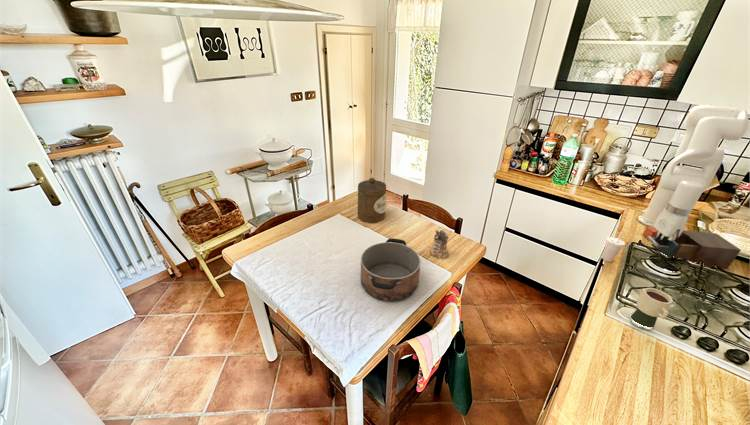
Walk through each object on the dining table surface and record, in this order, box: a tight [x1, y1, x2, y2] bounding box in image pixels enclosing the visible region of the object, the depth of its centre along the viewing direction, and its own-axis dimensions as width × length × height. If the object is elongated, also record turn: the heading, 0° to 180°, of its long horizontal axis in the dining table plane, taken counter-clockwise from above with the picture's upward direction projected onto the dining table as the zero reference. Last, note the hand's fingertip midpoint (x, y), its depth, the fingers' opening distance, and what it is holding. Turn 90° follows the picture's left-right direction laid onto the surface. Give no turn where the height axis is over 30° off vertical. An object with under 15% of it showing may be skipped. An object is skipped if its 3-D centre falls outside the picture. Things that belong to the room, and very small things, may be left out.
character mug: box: [630, 287, 673, 328], centre depth 99 cm, size 11×7×13 cm, turn 175°
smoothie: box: [601, 231, 626, 263], centre depth 130 cm, size 6×6×14 cm
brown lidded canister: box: [357, 177, 387, 224], centre depth 159 cm, size 15×15×22 cm
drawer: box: [646, 234, 700, 261], centre depth 135 cm, size 18×12×8 cm, turn 80°
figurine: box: [430, 229, 449, 259], centre depth 132 cm, size 7×7×12 cm
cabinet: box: [681, 229, 742, 270], centre depth 133 cm, size 14×13×10 cm
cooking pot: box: [360, 237, 421, 302], centre depth 116 cm, size 30×22×11 cm
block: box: [642, 225, 658, 240], centre depth 148 cm, size 5×5×5 cm
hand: (658, 245), depth 136 cm, fingers closed
